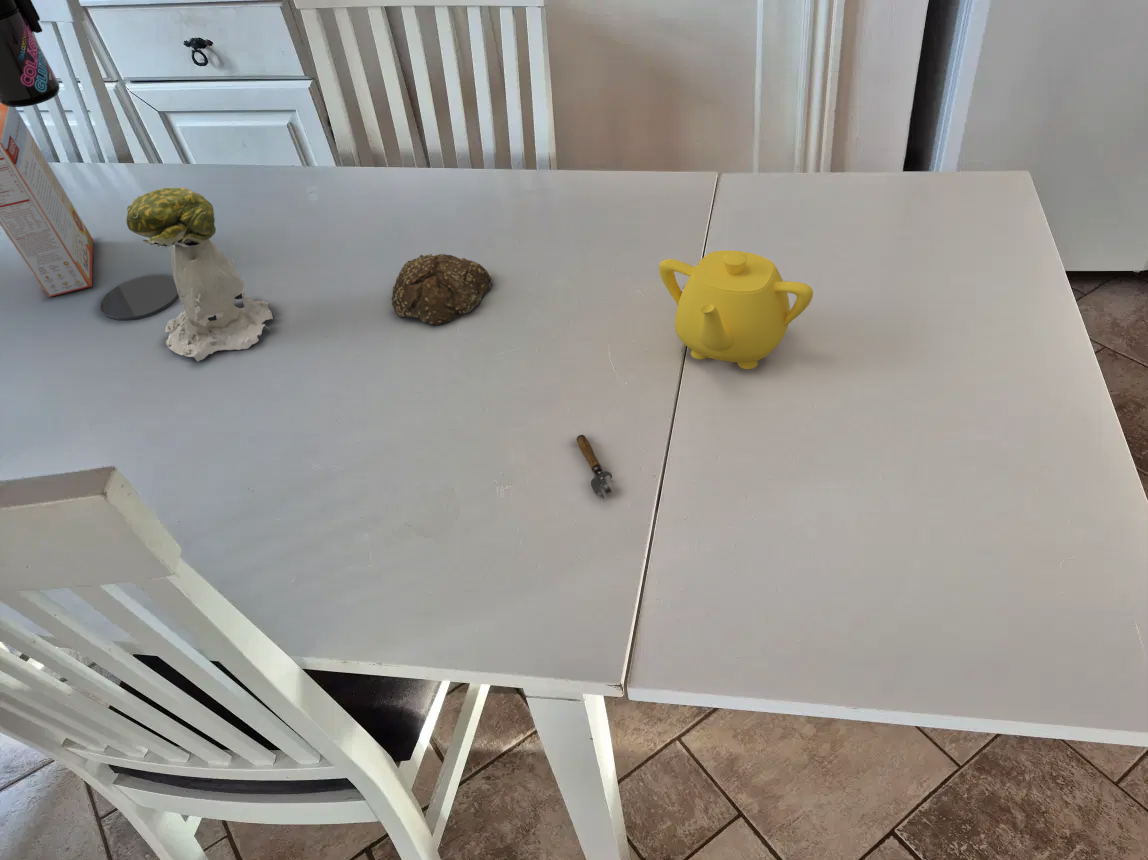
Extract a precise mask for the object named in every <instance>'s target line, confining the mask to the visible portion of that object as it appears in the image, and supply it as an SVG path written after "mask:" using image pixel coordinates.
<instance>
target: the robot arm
mask: <svg viewBox="0 0 1148 860" xmlns="http://www.w3.org/2000/svg"><path fill="white" fill-rule="evenodd" d="M16 1H17V3H18V4H19V6H20V9H21V11H22V13H23V15H24V17H25V19H26V21H27V23H28V25H29V27H30V29H31V31H32V32H33V33H36V34H39V33H42V32H43V28H42V27H41V24H40V22H39V21H40V20H41V18H40V17H41V16H40V15H39V13H38V11H37V9H36V7H35V6H34V3H33V1H32V0H16Z"/></svg>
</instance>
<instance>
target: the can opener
mask: <svg viewBox="0 0 1148 860" xmlns="http://www.w3.org/2000/svg"><path fill="white" fill-rule="evenodd" d="M576 443H577V446H578V447H579V449H580V452H581V453H582V455H583V457H584V458H585V460H586V461H587V463H588V465H589V468H590V469H591V472H592V473H594V477H593V478H592V479H591V480H590V486H591V489H592V491H593V493H594V494H596V495H598V496H599V497H601V498H604V499H605V495H604V494H603V492H602V489H601V488H600V486H602V488H603V489H604V492H605V494H606V495H607V494H609V493H611V492H612V489H611V487H610V485H609V483H608V482H607V479H606V477H609V479H610V480H611V479H613V474H612V473H611V472H610V471H607V470H606V471H602V470H603V469H602V465H601V463H600V462H599V460H598V458H597V457H596V454H595V452H594V449H593V447H592V445H591V443H590V441H589V440H588V438H587V437H586V436H585V435H584V434H579V435H578V436H577V437H576ZM599 485H600V486H599Z"/></svg>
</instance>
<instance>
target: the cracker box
mask: <svg viewBox="0 0 1148 860" xmlns="http://www.w3.org/2000/svg"><path fill="white" fill-rule="evenodd" d="M0 227H1V228H2V230H3V232H4V234H5V235H6V236H7V237H8V240H9V241H10V242H11V244H12V245H13V246H14V248H15V249H16V251H17V253H18V254H19V255H20V257H21V258H22V260H23V261H24V263H25V264H26V266H27V267H28V268H29V270H30V271H31V273H32V274H33V276H34V277H35V278H36V281H37V282H38V283H39V285H40V286H41V289H42V290H43V291H44V293H46V295H47V297H48V298H53V297H57V296H59V295H63V294H68V293H72V292H75V291H80V290H84V289H88V288H92V287H93V260H94V259H93V255H94V238H93V237H92V235H91V233H90V231H89V230H88V228H87V226H86V224H85V223H84V221H83V219H82V218H81V216H80V215H79V213H78V211H77V210H76V207H75V206H74V204H73V203H72V201H71V199H70V197H69V196H68V194H67V192H66V191H65V188H64V187H63V186H62V184H61V182H60V181H59V179H58V177H57V175H56V174H55V172H54V170H53V169H52V167H51V165H50V163H49V161H48V160H47V158H46V156H45V155H44V154H43V151H42V150H41V148H40V147H39V145H38V143H37V141H36V140H35V138H34V137H33V135H32V132H31V130H30V129H29V127H28V126H27V124H26V123H25V121H24V119H23V118H22V115H21V114H20V113H19V111H18V109H17V107H9V106H5V105H3V104H1V103H0Z"/></svg>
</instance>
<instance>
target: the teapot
mask: <svg viewBox="0 0 1148 860" xmlns="http://www.w3.org/2000/svg"><path fill="white" fill-rule="evenodd" d="M658 265H659V266H658V273H659V275H660V278H661V280H662V281H661V282H662V283H663V285H664V286H665V288H666V290H667V292H668V293H669V295H670V296H671V298H672V299H673V300H674V302H675V303H676V304H677V308H676V311H675V316H674V330H675V332H676V336H677V337H678V338H679V339H680V341H681V342H682V343H683V345H685V346H686V347H687V348H688V349H689V350H690V356H691V357H692V358H693V359H695V360H705V359H707V358H709V359H712V360H716V361H721V362H729V363H736V365H737V366H738V367H739V368H741V369H743V370H752V369H755V368H756V367H758V361H759V360H762V359H764V358H766V357H767V356H769V355H770V354H771V353H772V352H773V351H774V350H775V349H776V348H777V347H778V345H780V343H781V341H782V340H783V338H784V337H785V335H786V333H787V330H788V327H789V325H790V324H791V323H792V321H794V320H795V319H796V318H798V317H799V316H800V315H802V313H803V312H804V311H805V310H806V309H807V308H808V306H809V305H810V303H812V300H813V297H814V290H813V288H812V287H811V285H809V284H807V283H803V282H801V281H800V282H799V281H790V280H789V281H788V280H787V281H786V280H783V278H782V276H781V274H780V271H779V269H778V268H777V266H776V265H775V263H774V262H773V261H771V260H770V259H768V258H767V257H765V256H762V255H759V254H756V253H752V252H748V251H741V250H727V249H726V250H724V249H723V250H715V251H712V252H709V253H707V254H705V256H703V257H702V258H701V260H700V261H699V262H698V263H697V265H696V266H694V265H691V264H689V263H687V262H684V261H681V260H678V259H673V258H665V259H662V261H660V263H659V264H658ZM675 273H679V274H681V275H683V276H687V277H689V278H688V279H687V282H685V285H684V287H683V290H682V289H681V287H680V286H679V283H678V281H677V278H676V275H675ZM789 294H793V295H795V296H796V300H795V302H794V303H793V305H792V308H790V307H791V306H790V298H789Z"/></svg>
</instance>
